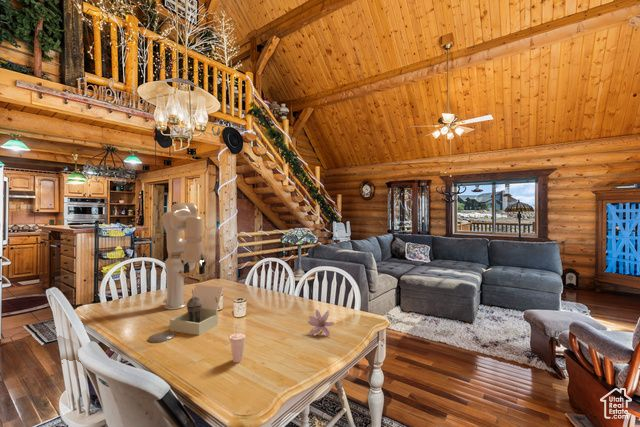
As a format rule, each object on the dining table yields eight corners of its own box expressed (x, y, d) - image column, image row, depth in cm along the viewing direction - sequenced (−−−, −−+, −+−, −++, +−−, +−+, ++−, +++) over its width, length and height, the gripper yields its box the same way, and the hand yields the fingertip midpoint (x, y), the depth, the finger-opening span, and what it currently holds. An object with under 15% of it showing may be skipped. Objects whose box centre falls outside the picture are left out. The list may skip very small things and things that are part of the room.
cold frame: (170, 330, 150) (169, 293, 150) (196, 317, 168) (196, 284, 168) (199, 335, 145) (198, 296, 145) (223, 321, 163) (223, 286, 162)
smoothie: (231, 356, 123) (231, 322, 123) (247, 355, 124) (247, 322, 124) (227, 364, 117) (227, 328, 117) (244, 363, 117) (244, 328, 117)
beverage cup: (205, 325, 156) (204, 287, 156) (195, 331, 150) (194, 291, 149) (193, 324, 159) (193, 286, 159) (183, 329, 152) (183, 290, 152)
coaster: (142, 340, 138) (142, 339, 138) (162, 331, 149) (162, 330, 149) (161, 344, 135) (161, 342, 135) (179, 334, 145) (179, 333, 145)
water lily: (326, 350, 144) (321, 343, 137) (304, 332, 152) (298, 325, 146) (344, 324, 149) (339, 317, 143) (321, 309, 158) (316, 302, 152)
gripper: (175, 240, 153) (175, 273, 153) (202, 241, 148) (202, 275, 148) (185, 239, 160) (186, 271, 160) (212, 239, 155) (212, 272, 155)
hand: (194, 273), depth 154 cm, fingers open, 9 cm apart
